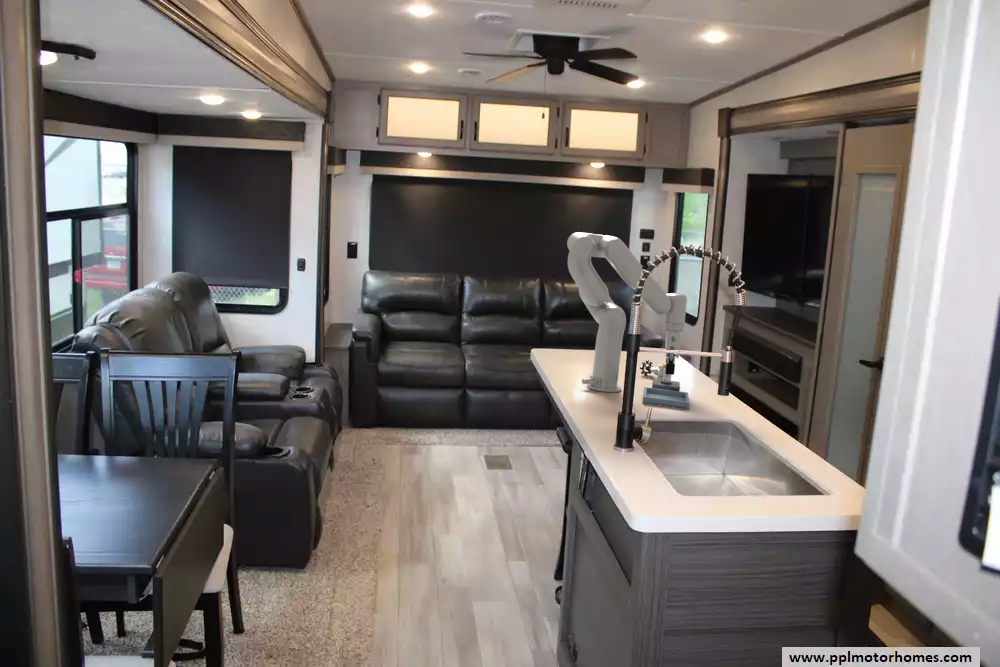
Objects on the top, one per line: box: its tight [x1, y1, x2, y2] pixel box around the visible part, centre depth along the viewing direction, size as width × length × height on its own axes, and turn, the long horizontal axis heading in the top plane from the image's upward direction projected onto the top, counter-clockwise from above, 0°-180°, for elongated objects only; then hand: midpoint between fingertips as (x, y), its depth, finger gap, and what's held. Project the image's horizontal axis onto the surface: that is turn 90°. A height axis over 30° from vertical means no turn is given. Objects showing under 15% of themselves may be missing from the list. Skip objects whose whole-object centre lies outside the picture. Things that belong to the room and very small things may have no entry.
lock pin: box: [662, 363, 672, 385], centre depth 315 cm, size 3×3×11 cm
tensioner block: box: [651, 378, 681, 392], centre depth 315 cm, size 10×10×4 cm
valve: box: [639, 359, 665, 380], centre depth 337 cm, size 7×7×12 cm
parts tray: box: [641, 386, 690, 410], centre depth 301 cm, size 16×16×2 cm
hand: (669, 371), depth 314 cm, fingers open, 9 cm apart
